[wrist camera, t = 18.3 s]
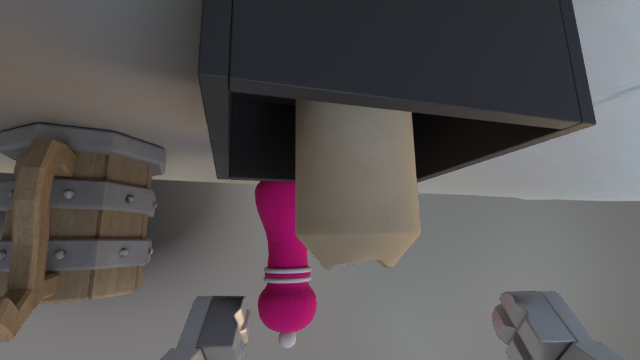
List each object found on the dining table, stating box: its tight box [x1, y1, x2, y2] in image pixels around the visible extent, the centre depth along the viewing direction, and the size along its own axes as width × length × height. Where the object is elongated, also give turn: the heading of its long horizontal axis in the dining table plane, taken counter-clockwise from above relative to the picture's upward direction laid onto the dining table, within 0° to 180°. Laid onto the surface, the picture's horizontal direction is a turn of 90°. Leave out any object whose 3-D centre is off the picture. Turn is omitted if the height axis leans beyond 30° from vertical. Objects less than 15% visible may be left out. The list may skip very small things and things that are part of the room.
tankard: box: [0, 123, 166, 342], centre depth 27 cm, size 20×13×15 cm, turn 156°
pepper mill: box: [255, 181, 317, 348], centre depth 33 cm, size 7×7×20 cm
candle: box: [295, 99, 421, 270], centre depth 15 cm, size 6×6×10 cm
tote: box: [198, 0, 596, 183], centre depth 15 cm, size 13×12×6 cm
